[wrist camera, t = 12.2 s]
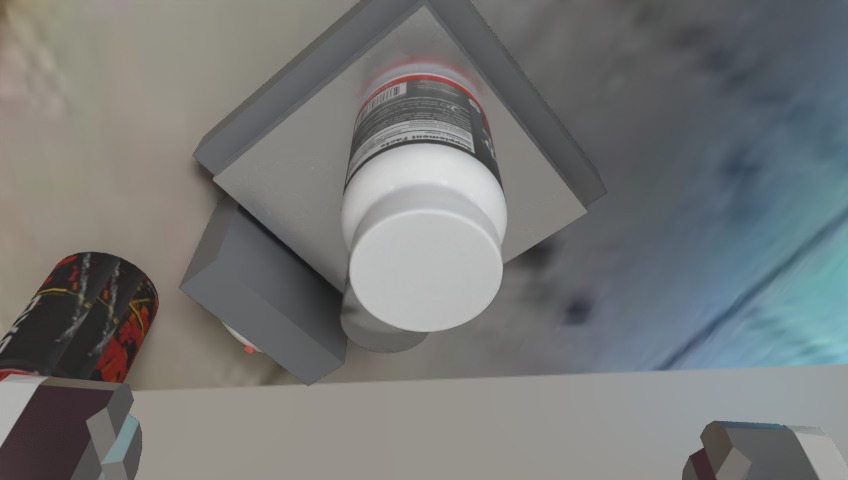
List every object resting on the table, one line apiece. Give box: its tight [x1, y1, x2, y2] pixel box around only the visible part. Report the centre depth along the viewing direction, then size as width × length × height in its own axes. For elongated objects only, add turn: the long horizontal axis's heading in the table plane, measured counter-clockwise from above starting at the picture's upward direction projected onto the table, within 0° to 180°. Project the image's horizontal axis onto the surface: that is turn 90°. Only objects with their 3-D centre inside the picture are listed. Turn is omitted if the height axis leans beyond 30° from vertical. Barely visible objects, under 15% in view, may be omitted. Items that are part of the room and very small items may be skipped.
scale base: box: [179, 0, 607, 386], centre depth 31 cm, size 17×14×7 cm
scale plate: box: [213, 0, 587, 294], centre depth 30 cm, size 12×12×1 cm
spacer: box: [340, 254, 429, 353], centre depth 30 cm, size 4×4×4 cm
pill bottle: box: [340, 73, 507, 332], centre depth 24 cm, size 6×6×10 cm
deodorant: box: [0, 252, 159, 383], centre depth 32 cm, size 6×6×15 cm
